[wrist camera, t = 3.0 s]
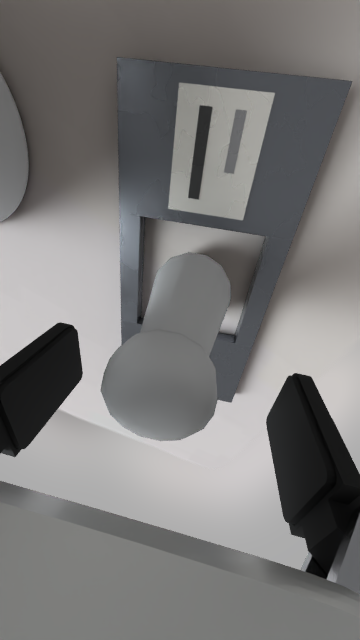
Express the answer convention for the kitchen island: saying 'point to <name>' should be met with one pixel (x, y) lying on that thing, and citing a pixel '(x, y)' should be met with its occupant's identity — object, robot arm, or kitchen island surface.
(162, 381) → the salt shaker
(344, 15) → the kitchen island surface
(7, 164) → the cylinder vase
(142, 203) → the label board
